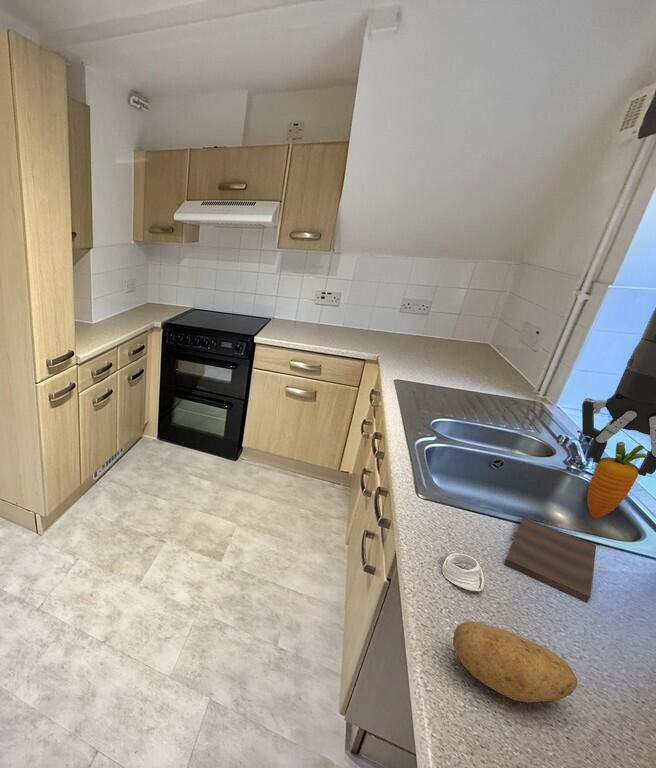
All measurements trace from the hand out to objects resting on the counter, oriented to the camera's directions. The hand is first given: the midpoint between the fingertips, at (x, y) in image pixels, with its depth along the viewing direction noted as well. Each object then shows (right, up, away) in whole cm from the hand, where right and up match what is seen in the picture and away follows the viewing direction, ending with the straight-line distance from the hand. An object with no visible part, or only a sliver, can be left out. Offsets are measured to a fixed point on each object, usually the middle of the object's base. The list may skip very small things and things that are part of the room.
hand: (618, 466), depth 69 cm
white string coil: (-18, -24, +11) cm, 32 cm away
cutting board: (+5, -22, +17) cm, 28 cm away
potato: (-26, -31, -7) cm, 41 cm away
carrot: (0, -10, +4) cm, 11 cm away
